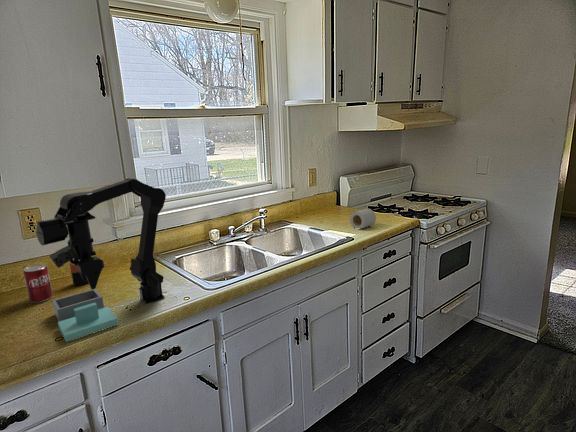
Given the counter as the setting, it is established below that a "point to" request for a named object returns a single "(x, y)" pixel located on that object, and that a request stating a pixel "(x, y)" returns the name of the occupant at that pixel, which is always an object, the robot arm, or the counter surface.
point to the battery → (76, 276)
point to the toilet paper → (362, 218)
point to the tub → (75, 303)
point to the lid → (87, 321)
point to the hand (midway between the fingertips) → (89, 284)
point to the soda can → (38, 283)
